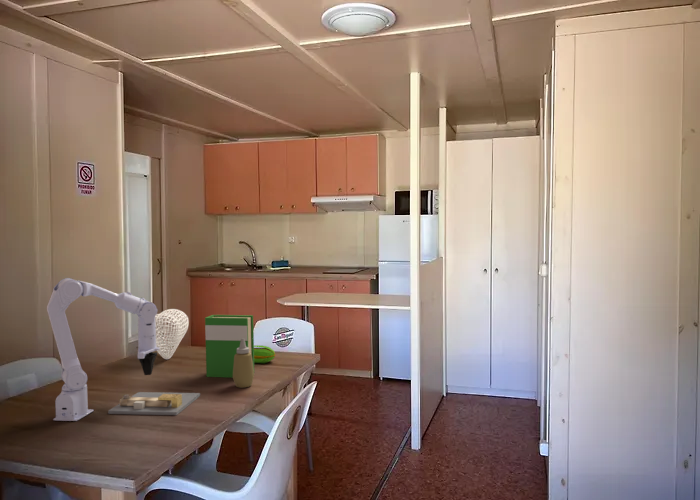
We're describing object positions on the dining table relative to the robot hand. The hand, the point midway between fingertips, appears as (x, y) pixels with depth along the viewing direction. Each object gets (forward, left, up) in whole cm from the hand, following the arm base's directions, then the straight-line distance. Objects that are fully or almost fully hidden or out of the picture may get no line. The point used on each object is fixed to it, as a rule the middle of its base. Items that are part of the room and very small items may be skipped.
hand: (148, 374), depth 186 cm
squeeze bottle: (+20, -28, -10) cm, 35 cm away
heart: (+60, +20, -10) cm, 64 cm away
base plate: (-3, -4, -9) cm, 11 cm away
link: (-7, -2, -8) cm, 11 cm away
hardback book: (+35, -18, -10) cm, 40 cm away
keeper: (-7, -11, -8) cm, 16 cm away
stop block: (-10, -2, -9) cm, 14 cm away
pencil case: (+56, -21, -10) cm, 61 cm away
